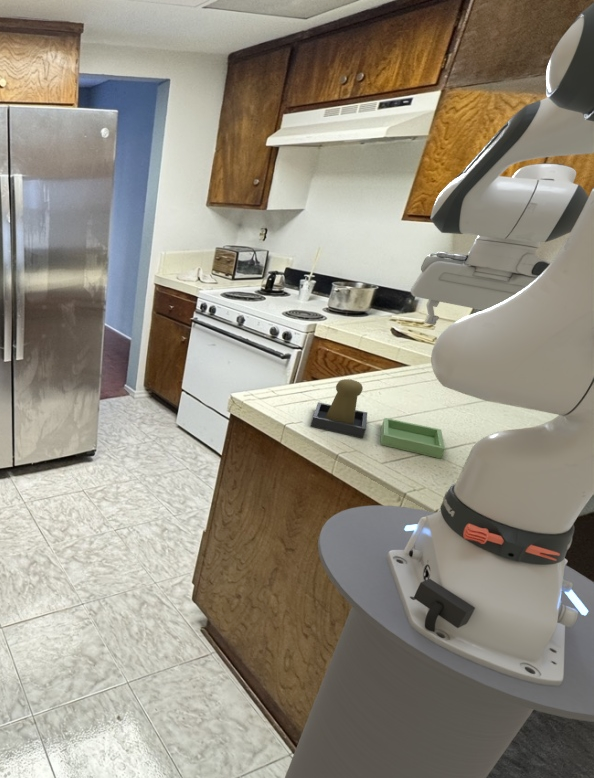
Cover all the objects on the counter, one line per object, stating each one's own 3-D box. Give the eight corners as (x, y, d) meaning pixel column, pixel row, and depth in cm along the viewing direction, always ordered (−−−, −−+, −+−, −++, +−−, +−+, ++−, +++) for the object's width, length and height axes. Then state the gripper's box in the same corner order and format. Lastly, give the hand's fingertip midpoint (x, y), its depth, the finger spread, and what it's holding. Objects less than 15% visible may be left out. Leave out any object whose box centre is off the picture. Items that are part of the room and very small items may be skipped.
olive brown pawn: (348, 417, 118) (360, 377, 114) (357, 428, 113) (371, 387, 108) (321, 415, 120) (332, 375, 115) (329, 426, 114) (341, 384, 110)
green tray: (440, 458, 101) (445, 448, 100) (380, 444, 107) (383, 434, 106) (437, 438, 109) (441, 429, 108) (381, 426, 115) (384, 417, 114)
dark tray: (362, 438, 110) (365, 429, 109) (310, 426, 116) (313, 417, 115) (364, 421, 117) (367, 412, 116) (315, 410, 123) (318, 402, 122)
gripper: (432, 249, 90) (398, 318, 96) (577, 272, 81) (530, 347, 87) (426, 249, 95) (394, 314, 101) (562, 270, 86) (518, 341, 92)
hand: (458, 330), depth 94 cm, fingers open, 8 cm apart
